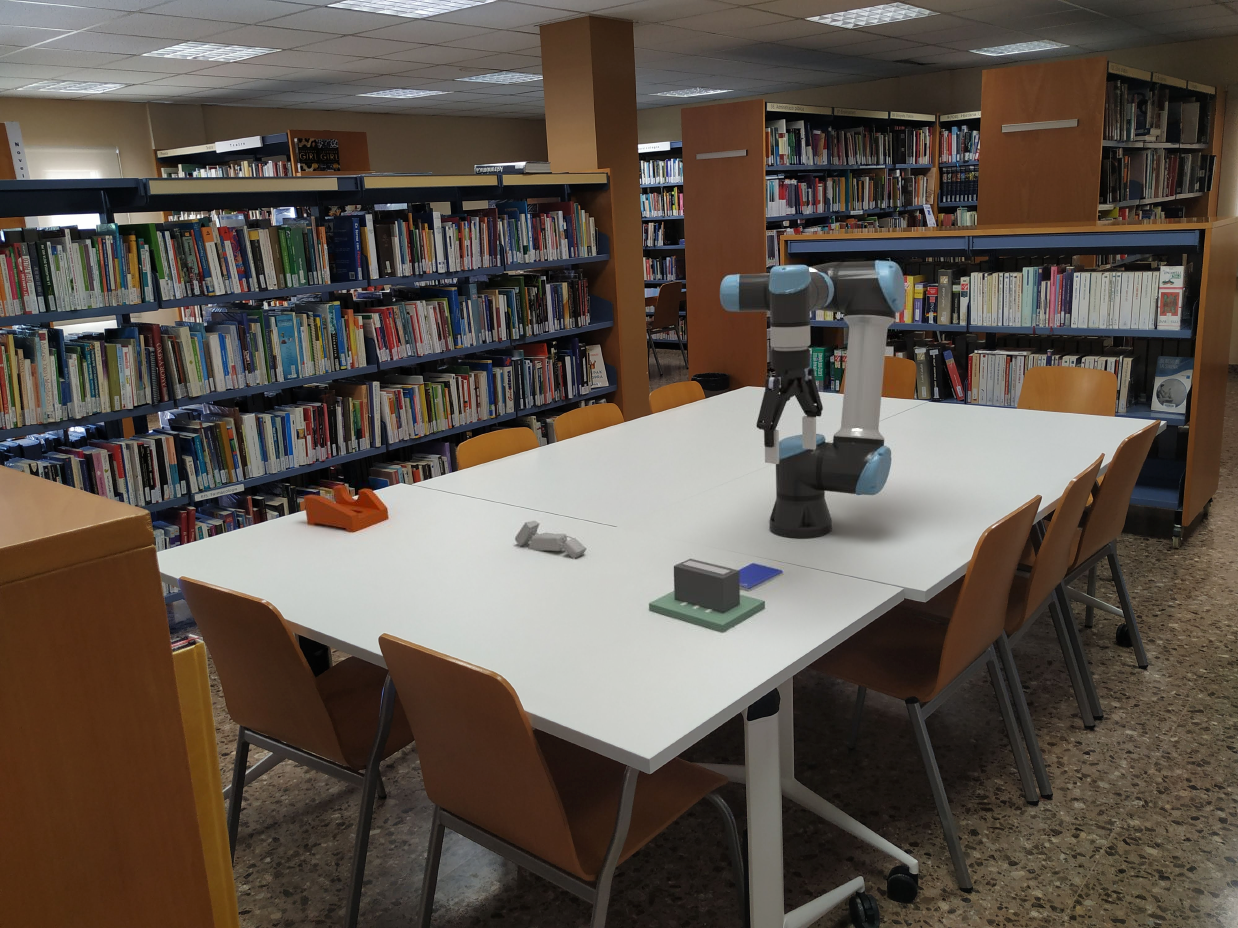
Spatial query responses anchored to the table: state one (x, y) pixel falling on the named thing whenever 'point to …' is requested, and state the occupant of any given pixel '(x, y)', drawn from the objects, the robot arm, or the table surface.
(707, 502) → the table surface
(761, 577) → the hard drive
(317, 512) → the orange cradle stand
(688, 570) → the socket block
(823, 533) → the robot arm
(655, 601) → the header board
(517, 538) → the grey jointed block chain
